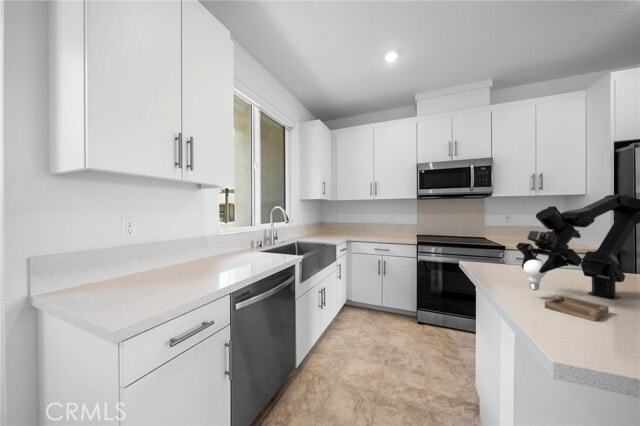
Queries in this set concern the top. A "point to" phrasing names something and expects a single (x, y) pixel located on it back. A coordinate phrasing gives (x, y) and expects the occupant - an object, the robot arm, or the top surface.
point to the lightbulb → (534, 273)
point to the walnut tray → (577, 308)
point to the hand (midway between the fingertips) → (531, 270)
